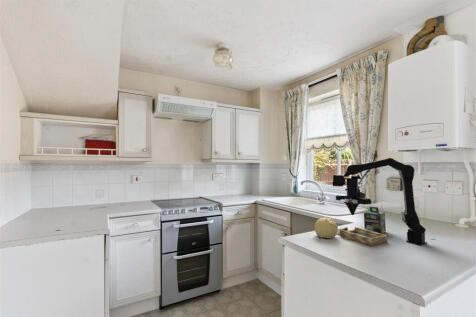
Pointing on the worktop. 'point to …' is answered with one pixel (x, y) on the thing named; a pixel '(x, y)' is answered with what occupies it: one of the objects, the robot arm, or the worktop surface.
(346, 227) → the cover plate
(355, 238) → the tan wooden rectangular frame
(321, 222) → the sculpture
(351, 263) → the worktop surface
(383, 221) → the chalk box
